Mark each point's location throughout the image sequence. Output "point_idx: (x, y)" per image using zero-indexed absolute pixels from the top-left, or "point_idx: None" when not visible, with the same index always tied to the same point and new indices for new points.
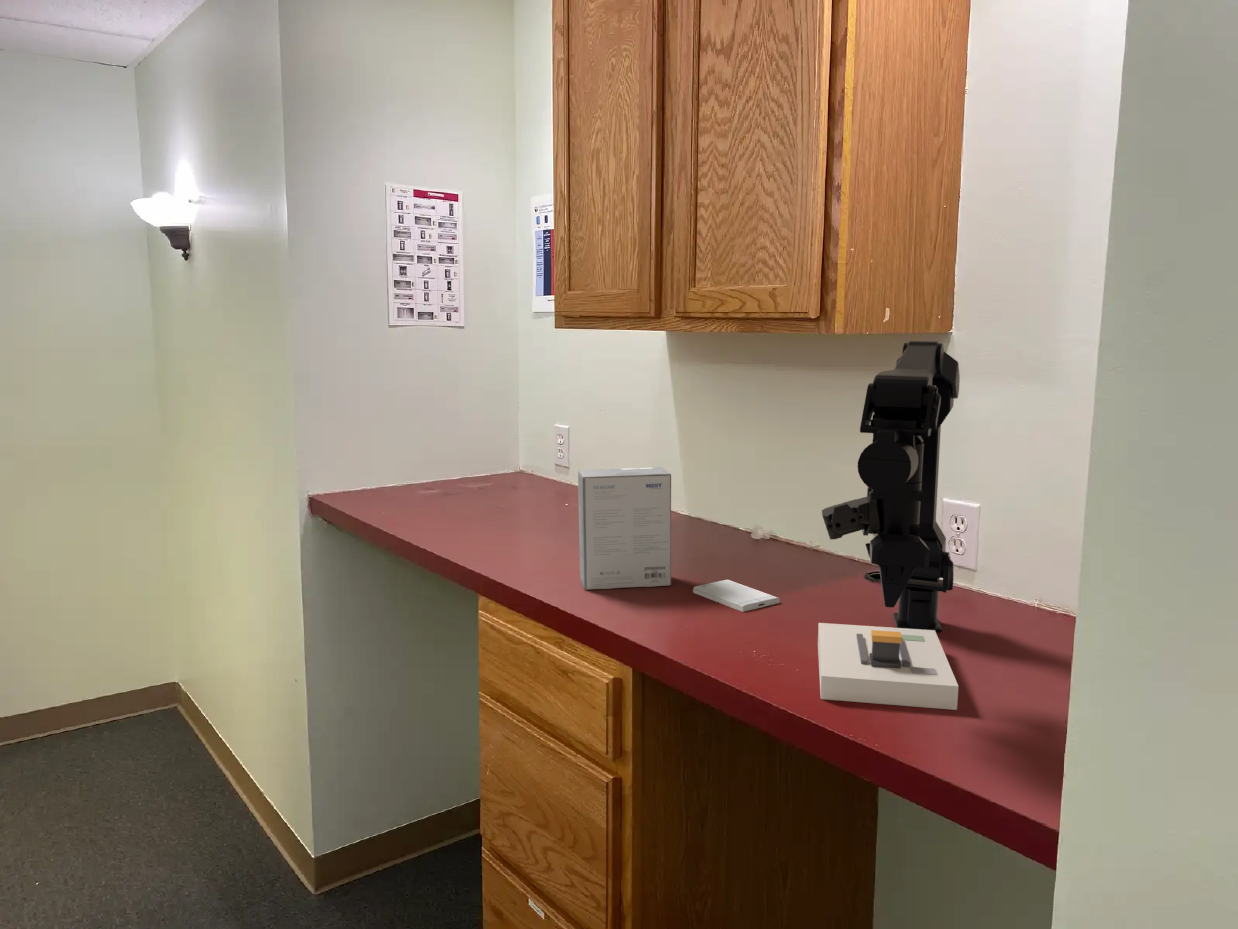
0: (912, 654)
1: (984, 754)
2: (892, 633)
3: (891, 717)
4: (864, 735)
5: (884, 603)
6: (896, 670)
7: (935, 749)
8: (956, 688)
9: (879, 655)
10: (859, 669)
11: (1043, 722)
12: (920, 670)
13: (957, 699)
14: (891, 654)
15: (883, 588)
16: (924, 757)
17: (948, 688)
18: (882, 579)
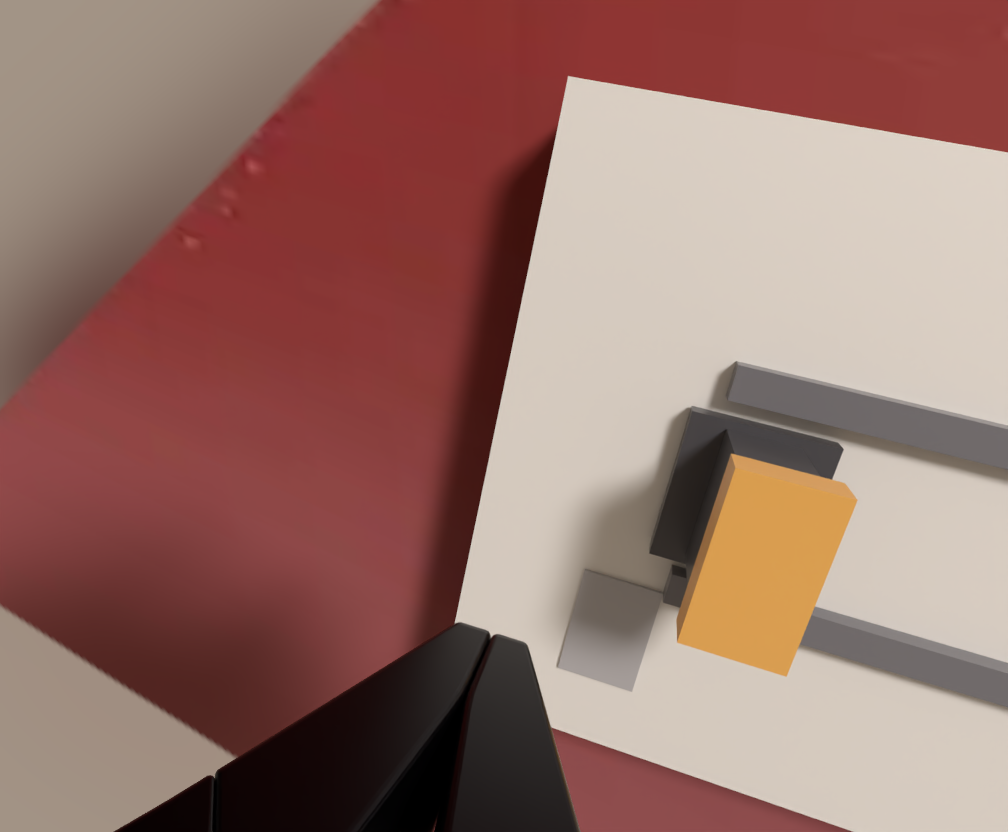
0: (847, 679)
1: (174, 559)
2: (764, 617)
3: (406, 373)
4: (254, 219)
5: (475, 636)
6: (629, 513)
7: (185, 431)
8: None
9: (718, 473)
10: (651, 327)
11: None
12: (611, 619)
13: None
14: (700, 538)
15: (293, 725)
16: (131, 376)
17: None
18: (137, 820)
